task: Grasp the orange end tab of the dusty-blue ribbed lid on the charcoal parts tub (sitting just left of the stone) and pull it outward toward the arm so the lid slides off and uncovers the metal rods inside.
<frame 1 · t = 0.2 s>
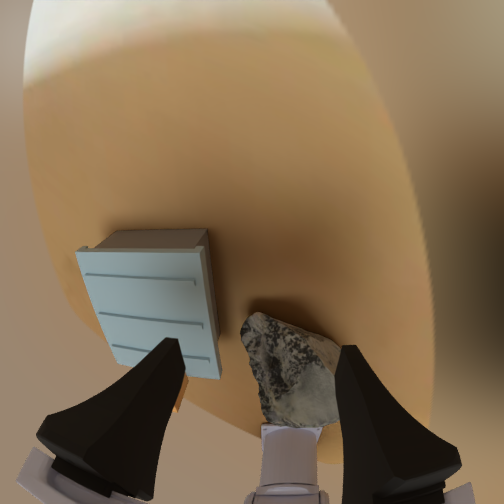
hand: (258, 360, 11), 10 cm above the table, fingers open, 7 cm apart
stone: (302, 341, 24), on the table
tub: (168, 285, 23), on the table
lid: (142, 336, 18), point 6 cm above the table, slide at 0.0 cm
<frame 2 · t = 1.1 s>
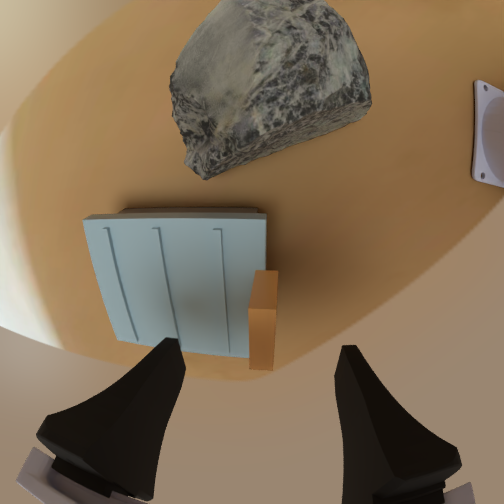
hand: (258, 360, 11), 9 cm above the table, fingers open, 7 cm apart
stone: (272, 94, 15), on the table
tub: (190, 259, 20), on the table
lid: (170, 307, 15), point 6 cm above the table, slide at 0.0 cm
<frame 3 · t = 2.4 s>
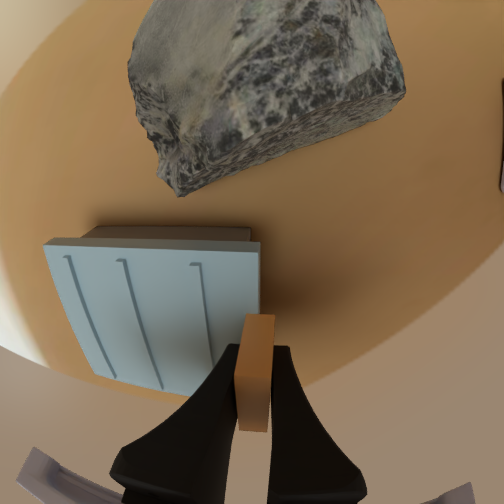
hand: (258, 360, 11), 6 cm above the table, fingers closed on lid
stone: (269, 86, 12), on the table
tub: (172, 285, 17), on the table
lid: (144, 353, 12), point 6 cm above the table, slide at 0.0 cm, touching gripper
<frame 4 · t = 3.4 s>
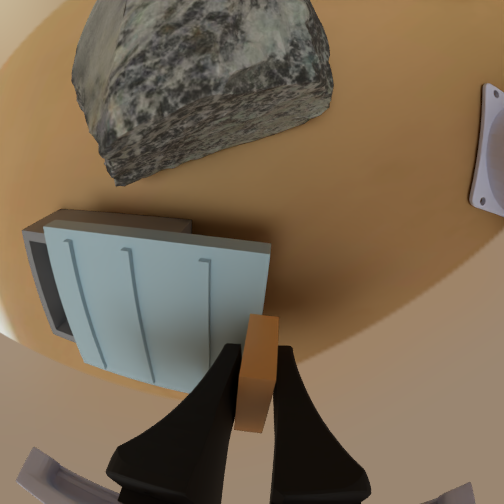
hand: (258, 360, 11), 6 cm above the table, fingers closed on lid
stone: (219, 83, 12), on the table
tub: (122, 270, 17), on the table
lid: (141, 346, 11), point 6 cm above the table, slide at 3.6 cm, touching gripper
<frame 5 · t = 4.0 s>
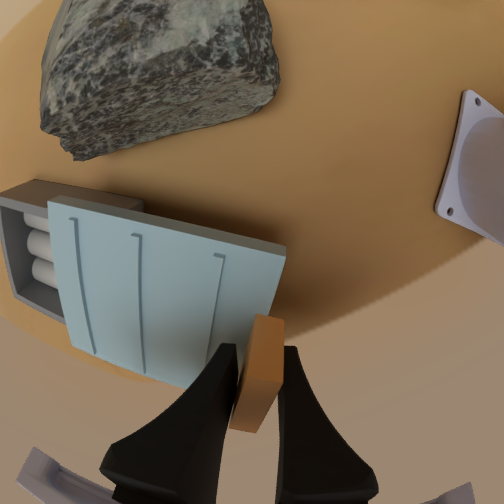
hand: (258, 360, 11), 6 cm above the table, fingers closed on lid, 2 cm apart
stone: (183, 70, 12), on the table
tub: (81, 243, 16), on the table
lid: (139, 336, 11), point 6 cm above the table, slide at 7.1 cm, touching gripper
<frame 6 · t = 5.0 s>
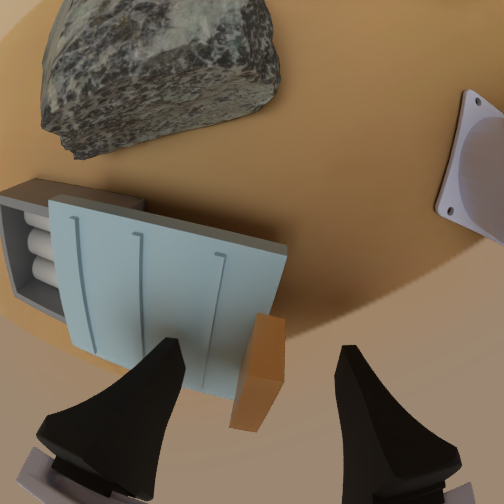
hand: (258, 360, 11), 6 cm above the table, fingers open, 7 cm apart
stone: (184, 69, 12), on the table
tub: (81, 242, 16), on the table
lid: (140, 335, 11), point 6 cm above the table, slide at 7.1 cm
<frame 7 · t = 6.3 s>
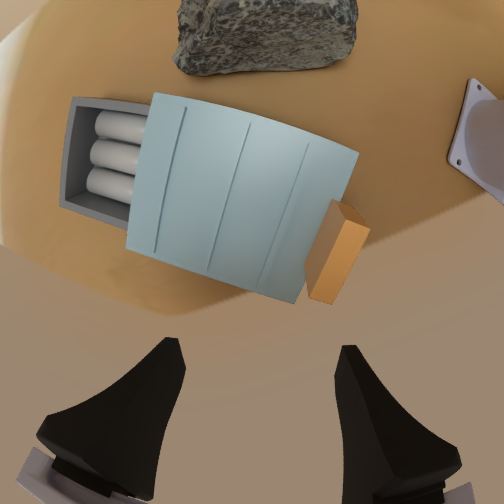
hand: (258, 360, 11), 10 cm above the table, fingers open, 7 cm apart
stone: (271, 29, 14), on the table
tub: (145, 157, 18), on the table
lid: (229, 210, 13), point 6 cm above the table, slide at 7.1 cm
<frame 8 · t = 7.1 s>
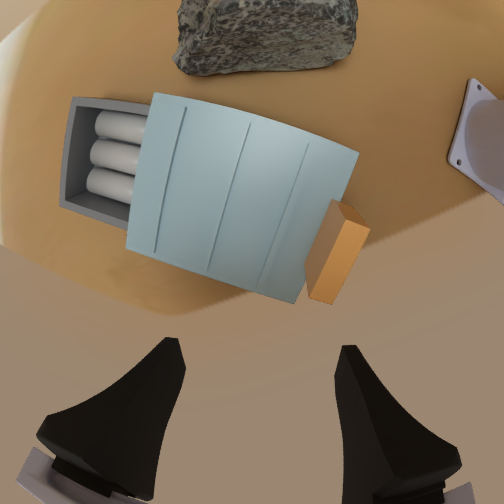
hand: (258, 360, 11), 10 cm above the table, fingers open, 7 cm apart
stone: (271, 29, 14), on the table
tub: (145, 157, 18), on the table
lid: (229, 210, 13), point 6 cm above the table, slide at 7.1 cm
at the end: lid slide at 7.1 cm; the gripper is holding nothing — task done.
